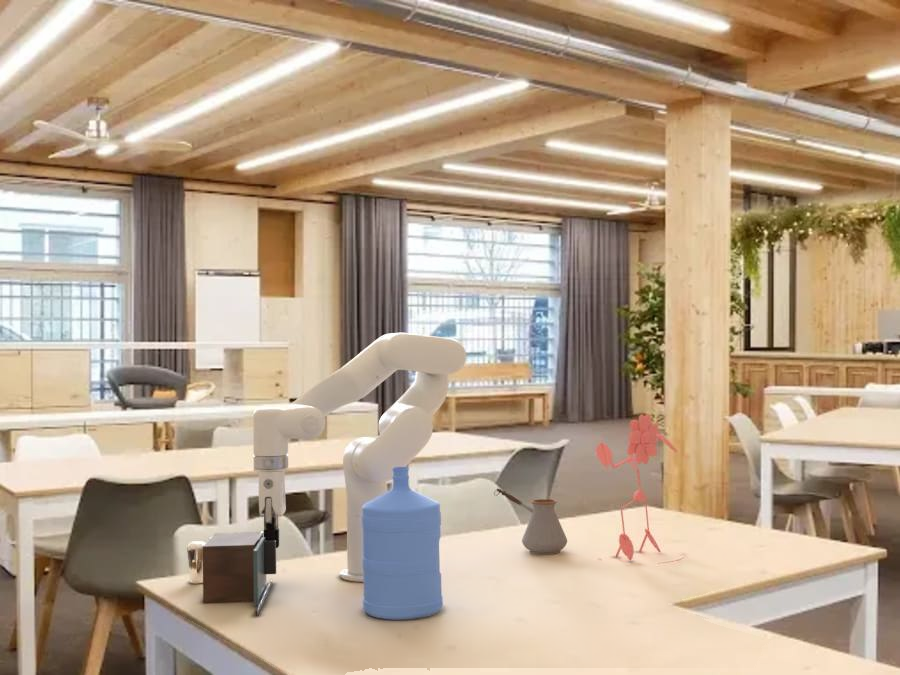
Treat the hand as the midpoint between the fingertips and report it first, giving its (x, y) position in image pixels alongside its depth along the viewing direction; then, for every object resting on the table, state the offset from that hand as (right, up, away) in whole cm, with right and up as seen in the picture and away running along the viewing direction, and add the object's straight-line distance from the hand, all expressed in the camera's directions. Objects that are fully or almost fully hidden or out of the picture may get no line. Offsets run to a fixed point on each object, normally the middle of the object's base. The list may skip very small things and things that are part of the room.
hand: (271, 547), depth 216 cm
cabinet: (-6, -9, -11) cm, 15 cm away
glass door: (+1, -8, -10) cm, 13 cm away
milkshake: (-17, -9, +6) cm, 21 cm away
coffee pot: (+59, -9, +37) cm, 71 cm away
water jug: (+30, -8, -22) cm, 38 cm away
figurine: (+88, -8, +23) cm, 91 cm away
